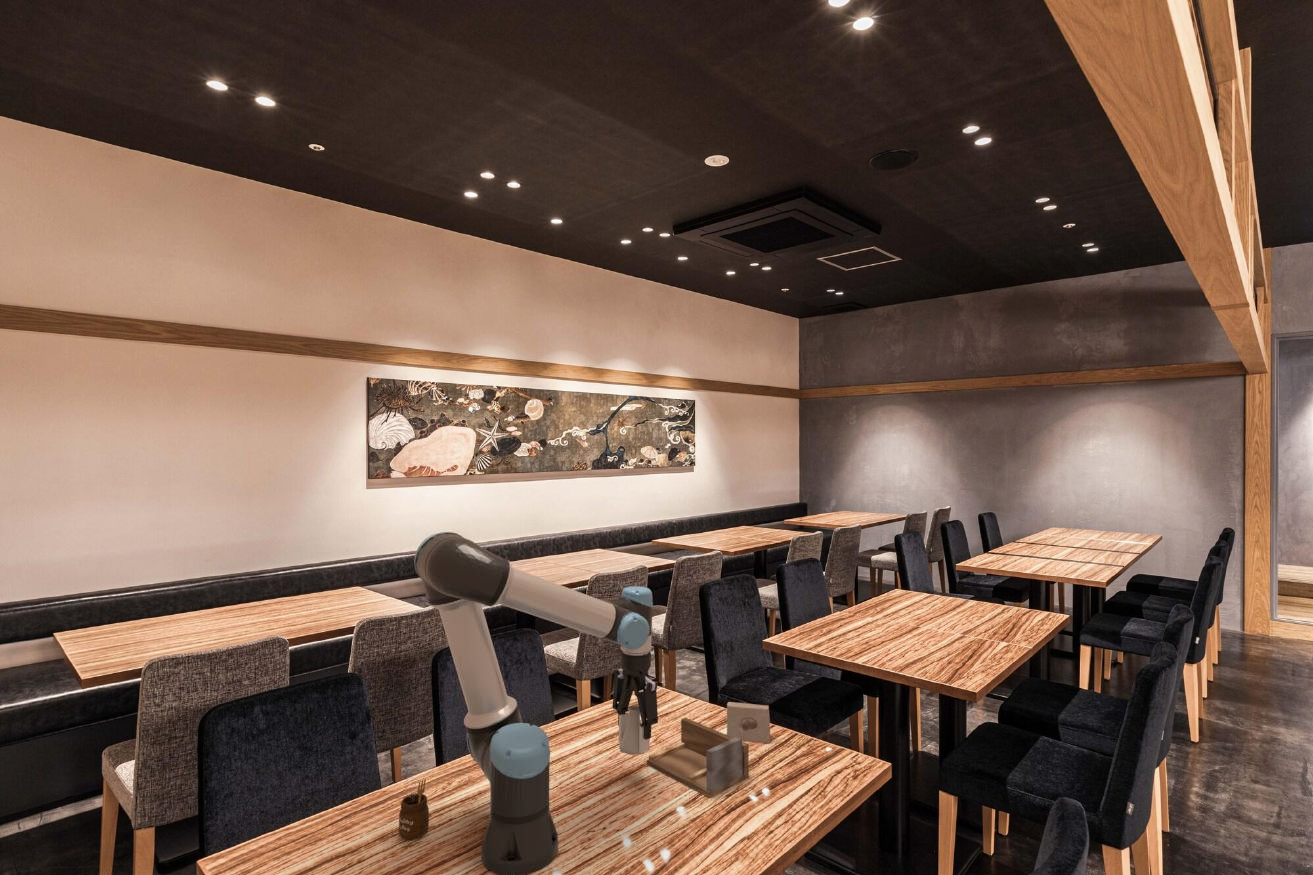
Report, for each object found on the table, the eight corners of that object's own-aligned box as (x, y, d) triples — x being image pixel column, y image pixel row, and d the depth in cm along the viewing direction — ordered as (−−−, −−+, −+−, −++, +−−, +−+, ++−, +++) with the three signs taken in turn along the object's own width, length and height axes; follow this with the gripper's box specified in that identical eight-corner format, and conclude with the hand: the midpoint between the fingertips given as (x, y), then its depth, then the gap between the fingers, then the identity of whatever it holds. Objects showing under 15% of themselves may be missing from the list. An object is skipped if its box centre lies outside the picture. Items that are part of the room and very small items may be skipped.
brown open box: (709, 798, 151) (709, 753, 152) (646, 764, 168) (646, 724, 168) (748, 777, 161) (748, 735, 161) (685, 748, 177) (685, 710, 177)
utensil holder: (418, 821, 142) (419, 765, 143) (435, 832, 138) (435, 774, 139) (393, 833, 138) (393, 776, 138) (409, 845, 134) (409, 785, 134)
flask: (649, 743, 163) (650, 703, 163) (646, 756, 156) (647, 714, 156) (621, 742, 164) (622, 701, 164) (616, 754, 157) (617, 712, 157)
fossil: (726, 740, 182) (726, 705, 182) (727, 734, 186) (727, 700, 186) (770, 744, 180) (769, 709, 180) (770, 738, 183) (770, 704, 183)
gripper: (675, 657, 156) (673, 755, 155) (622, 639, 171) (619, 729, 170) (651, 663, 151) (649, 765, 150) (599, 644, 166) (596, 736, 165)
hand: (633, 745), depth 160 cm, fingers closed on flask, 7 cm apart
